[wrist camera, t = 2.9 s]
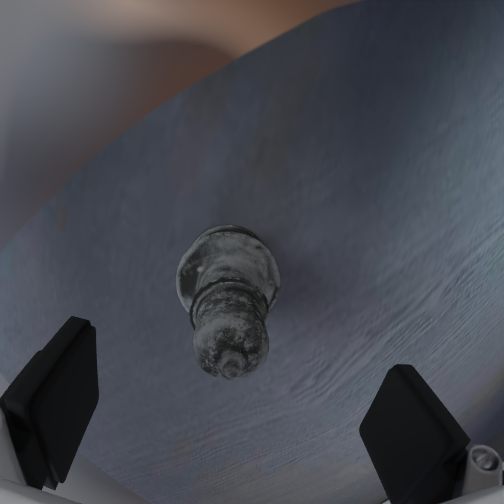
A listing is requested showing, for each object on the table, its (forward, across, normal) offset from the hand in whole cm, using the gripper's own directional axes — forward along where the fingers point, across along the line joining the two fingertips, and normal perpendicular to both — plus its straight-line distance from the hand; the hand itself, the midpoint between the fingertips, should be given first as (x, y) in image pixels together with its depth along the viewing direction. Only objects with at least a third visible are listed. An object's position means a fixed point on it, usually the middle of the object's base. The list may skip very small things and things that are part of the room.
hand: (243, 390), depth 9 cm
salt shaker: (+13, 0, 0) cm, 13 cm away
